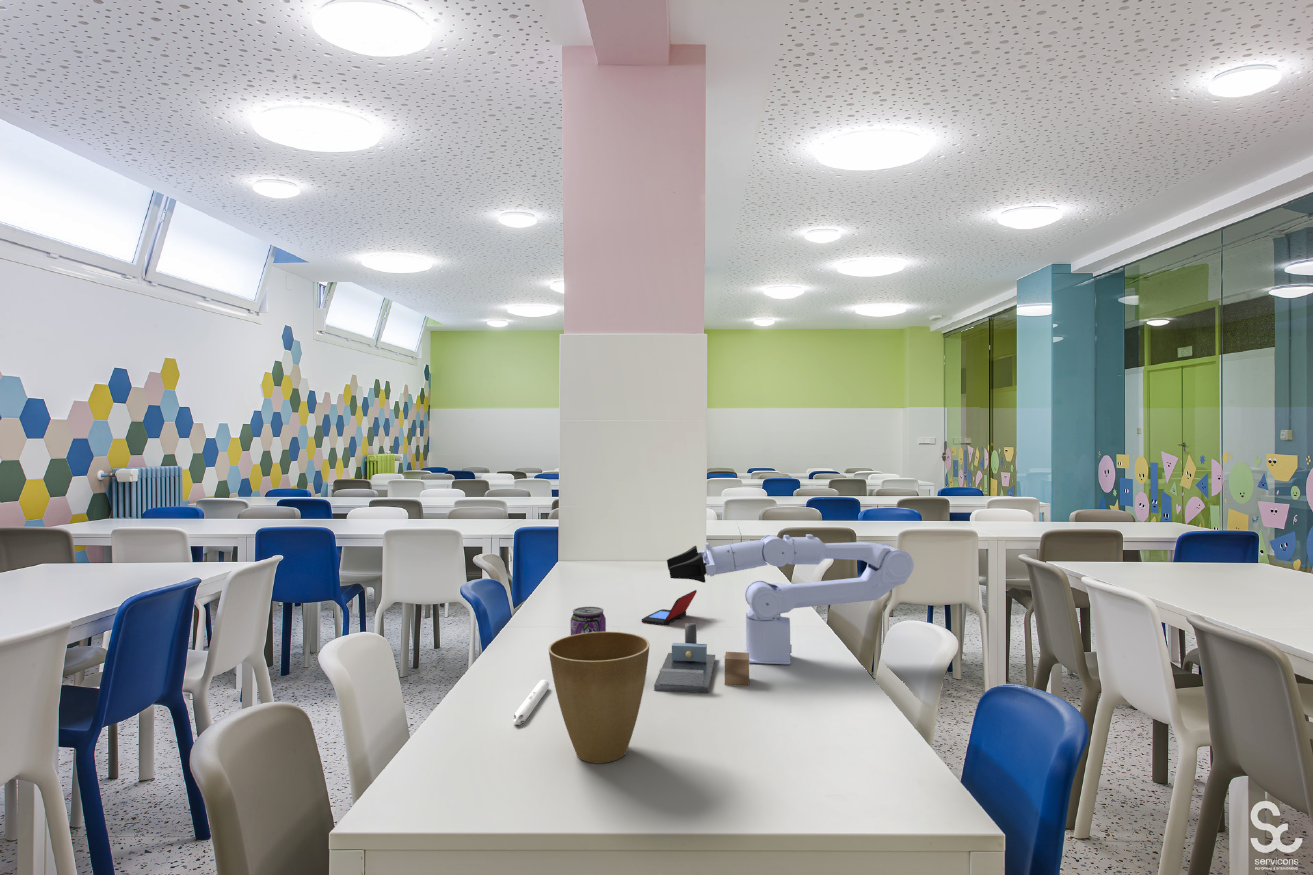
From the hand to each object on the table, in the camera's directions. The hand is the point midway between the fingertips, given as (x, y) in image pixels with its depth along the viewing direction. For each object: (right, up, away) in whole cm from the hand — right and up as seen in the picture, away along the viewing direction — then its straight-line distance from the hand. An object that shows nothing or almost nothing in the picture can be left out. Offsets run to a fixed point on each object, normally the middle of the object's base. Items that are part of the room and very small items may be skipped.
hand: (668, 568), depth 148 cm
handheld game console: (+1, -20, +34) cm, 39 cm away
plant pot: (-11, -19, -44) cm, 50 cm away
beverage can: (-16, -19, -6) cm, 26 cm away
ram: (+4, -18, -3) cm, 19 cm away
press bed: (+3, -19, -9) cm, 21 cm away
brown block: (+13, -19, -14) cm, 27 cm away
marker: (-24, -20, -26) cm, 41 cm away
